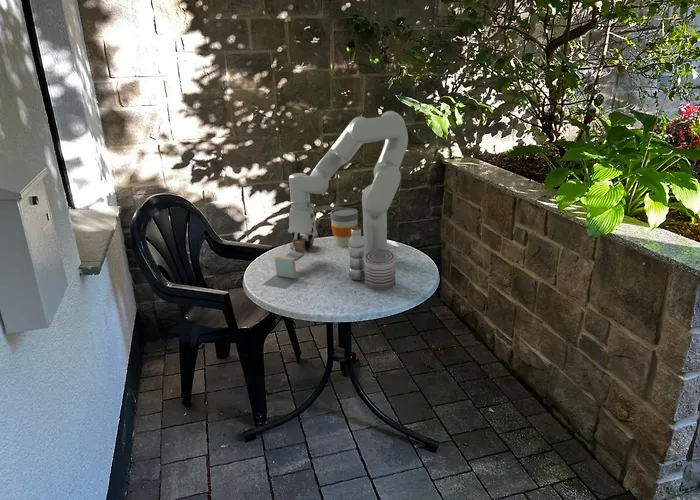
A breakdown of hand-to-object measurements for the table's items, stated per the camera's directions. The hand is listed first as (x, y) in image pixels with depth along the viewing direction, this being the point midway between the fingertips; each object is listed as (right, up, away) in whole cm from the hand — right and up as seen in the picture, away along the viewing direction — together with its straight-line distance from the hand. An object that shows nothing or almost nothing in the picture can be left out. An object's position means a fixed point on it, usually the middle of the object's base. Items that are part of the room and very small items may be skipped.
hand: (303, 248), depth 200 cm
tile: (-6, -11, -10) cm, 16 cm away
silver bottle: (+22, -12, -12) cm, 28 cm away
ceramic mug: (-3, 0, +19) cm, 19 cm away
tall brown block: (-1, -2, -2) cm, 3 cm away
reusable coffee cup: (+17, +2, +23) cm, 29 cm away
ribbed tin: (+30, -14, -18) cm, 37 cm away
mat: (-6, -12, -11) cm, 18 cm away
